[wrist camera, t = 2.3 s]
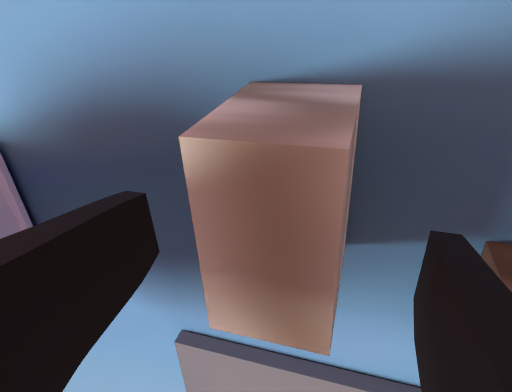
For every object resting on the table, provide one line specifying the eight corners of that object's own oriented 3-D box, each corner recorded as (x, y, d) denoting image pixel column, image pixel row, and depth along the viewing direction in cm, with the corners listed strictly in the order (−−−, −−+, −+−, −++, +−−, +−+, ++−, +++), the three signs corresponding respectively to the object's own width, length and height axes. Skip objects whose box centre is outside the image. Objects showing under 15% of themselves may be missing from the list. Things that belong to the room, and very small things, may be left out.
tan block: (258, 230, 15) (210, 327, 11) (251, 81, 12) (178, 136, 7) (345, 243, 14) (329, 355, 10) (362, 84, 11) (349, 149, 7)
